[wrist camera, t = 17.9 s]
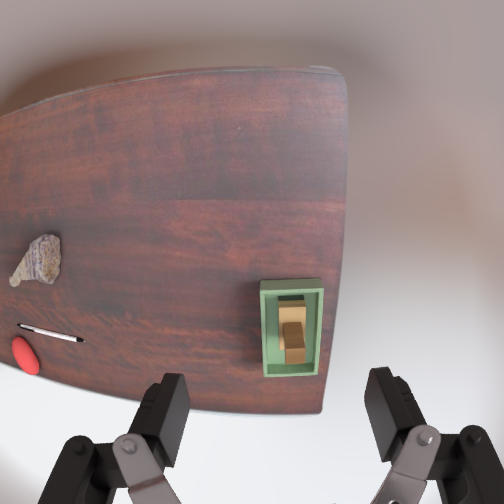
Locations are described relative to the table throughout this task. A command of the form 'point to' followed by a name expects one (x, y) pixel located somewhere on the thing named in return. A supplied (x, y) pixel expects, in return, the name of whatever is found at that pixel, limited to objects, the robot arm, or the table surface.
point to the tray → (269, 325)
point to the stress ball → (25, 356)
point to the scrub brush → (292, 327)
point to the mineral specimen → (39, 261)
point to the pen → (50, 333)
